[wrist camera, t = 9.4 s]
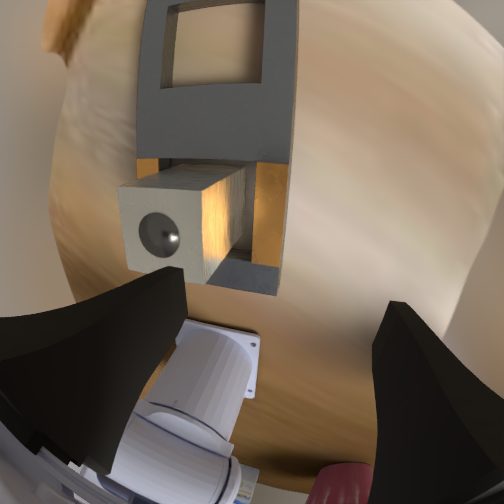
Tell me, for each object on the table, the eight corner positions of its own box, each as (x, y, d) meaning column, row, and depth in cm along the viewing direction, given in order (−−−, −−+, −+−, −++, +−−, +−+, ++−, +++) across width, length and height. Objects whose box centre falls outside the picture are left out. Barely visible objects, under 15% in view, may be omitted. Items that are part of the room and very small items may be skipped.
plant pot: (381, 449, 28) (378, 524, 17) (390, 472, 32) (387, 529, 21) (292, 461, 33) (277, 528, 22) (318, 482, 37) (308, 535, 26)
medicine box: (244, 475, 41) (233, 508, 34) (224, 468, 41) (211, 502, 34) (260, 469, 38) (249, 507, 30) (238, 461, 38) (225, 500, 30)
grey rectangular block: (243, 231, 19) (203, 286, 12) (185, 223, 19) (127, 269, 13) (246, 166, 17) (200, 191, 10) (183, 163, 18) (116, 187, 11)
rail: (279, 284, 20) (276, 297, 18) (157, 263, 22) (147, 272, 20) (299, -22, 10) (296, -34, 9) (160, -6, 12) (148, -12, 10)
